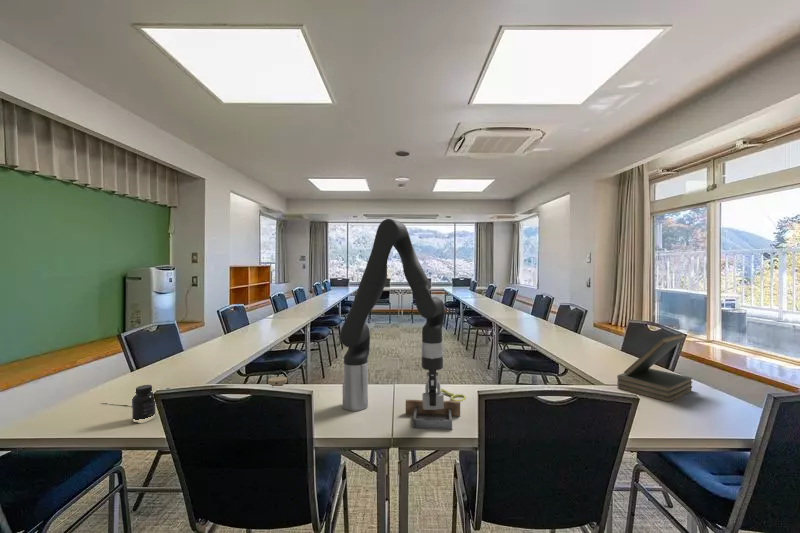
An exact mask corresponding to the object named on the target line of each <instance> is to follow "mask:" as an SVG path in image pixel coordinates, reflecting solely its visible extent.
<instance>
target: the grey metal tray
mask: <svg viewBox="0 0 800 533" xmlns="http://www.w3.org/2000/svg"><path fill="white" fill-rule="evenodd" d="M452 417H453V416H451V408H448V415H447V414H417V407H415V411H414V415H413V417H412V418H413V420H412V425H413V426H412V427H413V430H414V429H417V430H418V429H419V430H420V429H421V430H422V429H423V430H442V431H443V430H445V431H446V430H447V431H452V430H453V418H452Z"/></svg>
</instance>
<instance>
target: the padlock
mask: <svg viewBox="0 0 800 533" xmlns="http://www.w3.org/2000/svg"><path fill="white" fill-rule="evenodd" d="M437 384H438V387H437V388H436V393H437V394H436V406H430V397H429V388H428V380H427V381H426V383H425V385H424V386H425V388H424V389H425V390H424V391H425V392H423V393H422V394H421V396H422V400H423V409H424V410H437V409H444V401H445V399H444V398H445V397H444V396H445V395H444V394H443V393H444V392H440V390H441V383H440V381H439V380H437Z"/></svg>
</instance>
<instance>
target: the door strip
mask: <svg viewBox="0 0 800 533" xmlns="http://www.w3.org/2000/svg"><path fill="white" fill-rule="evenodd" d="M415 407H417V414H447V415H448V408H451V416H452V417H461V401H451V400H444V409H437V410H424V409H423V399H405V415H413V416H414V411H415Z"/></svg>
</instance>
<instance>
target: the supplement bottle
mask: <svg viewBox="0 0 800 533" xmlns="http://www.w3.org/2000/svg"><path fill="white" fill-rule="evenodd" d="M152 388H153V385H152V384H144V385H139V386H136V387H135V389H136V392H135V393H136V395H135V396H134V397H133V399H132V408H131V410H132V411H131V413H132V418H133V419H135V420H139V419H145V418H148V417H151V416H153V415H154V414H155V415H156V405H155V401H154V397H153V392H151V391H152Z"/></svg>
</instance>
